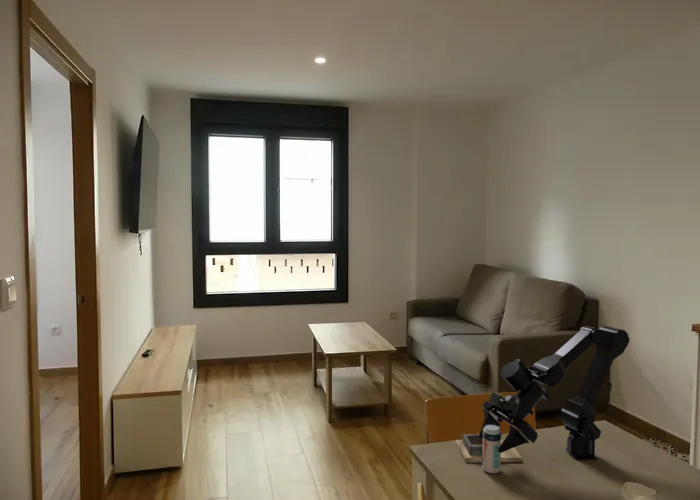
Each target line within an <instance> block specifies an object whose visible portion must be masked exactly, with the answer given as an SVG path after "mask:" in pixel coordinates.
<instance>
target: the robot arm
mask: <svg viewBox="0 0 700 500" xmlns="http://www.w3.org/2000/svg"><path fill="white" fill-rule="evenodd" d="M629 344H630V337H629V334H628V332H627V331H626V330H625V329H621V328H618V327H617V328H616V327H613V326H609V325H603V326H601V327H593V326H589V325H584V326H582V327H580V328H579V331H578V332H577V333H576V334H575V335H573V336H572V337H571V338H570V339H569V340H568V341H567V342H565V344H563V345H562V346H561V347H559V349H557V350H556V352H555V353H553V354H552V355H549V356H546V357H545V356H544V357H542V358H541V359H540V360H537V361H536V362H535V363H534V364H533V365H530V366H526V364H525V362H523V360H521V359H518V358H516V359H515V360H513V361H511V362H508V363H507V364H504V366H502V368H501V370H500V375H501V377H502V378H503V379H504V380H505V381H506V382H507V384H508V385H509V386H511V388H512V389H513V390H514V391H517V392H516V393H515V394H511V393H510V394H509V395H506V396H505V395H502V394H499V393H497V392H495V391H492V392H491V394H490V397H489V400H485V401H484V402H483V403H482V405H481V407H482V411H483V415H484V420H483V423H482V426H481V429H480V431H479V438H480V439H483V429H484V427H485V426H486V425H496V426H498V427H500V426H501V424H500V423H502V422H505V423H506V424H508V425H509V431H508V434H507V436H506V437H505V439H503V440H504V441H503V442H502V444H501V445H500V447H499V449H498V451H499V452H500V453H502V452H504V451H507V450H509V449H511V448H516V447H519V446H522V445H526V444H528V445H529V443H532V444H534V443H535V442H536V440H537V439H538V437H539V436H538V435H539V433H538V432H537V431H536V429H534V428H533V426H532V425H531V424H530V423H529V422H527V421H526V420H525V419H527V416H529V415H530V416H533V414H534V411H533V409H534V407H535V406H536V405H537V404H538V403H539V401H540V400H541V399H542V398H543V399H545V400H547V401H549V400H550V394H549V388H546V387H543V386H542V385H544V386H547V387H550V388H554V387H557V386H558V385H559V384H560V382H561V381H562V380H563V378H565V377H566V373H567V372H566V371H567V369H568V368H569V366H571V365H572V364H573V363H574V362H575V361H576V360H577V359H578V358H579V357H580V356H581V355H582V354H584V353H585V352H586V351H587V350H588V349H589V348H590V347H591V346H592V345H594V349H595V353H594V356H593V358H592V360H591V362H590V365H589V367H588V370H587V371H586V374H585V376H584V379H583V381H582V383H581V386H580V387H579V390H578V392H577V395H576V396H575V397H574V398H572V399H570V398H567V399H566V400H565V401H564V404H563V407H562V409H560V412H561V415H560V419H561V423H563V426H564V429H565V430H566V431H568V437H567V440H566V442H567V443H566V448H565V450H566V452H568V454H570V455H571V456H572V458H574V460H598V456H597V455H596V454H595V452H596V440H597V439H598V440H599V439H600V438H601V434H602V430H601V429H600V428H599V427H598V426H597V425H596V424H595V423H594V422H595V420H596V410H595V403H596V401H597V399H598V396H599V395H600V391H601V390H602V387H603V385H604V382H605V381H606V378H607V375H608V374H609V371H610V369H611V367H612V364H613V362H614V361H615V360H616V359H617V358H618V357H619V356H621V355H622V354H623V353H624V352H625V351H626V349H627V347H628V345H629ZM533 380H534V381H533Z"/></svg>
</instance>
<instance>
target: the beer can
mask: <svg viewBox="0 0 700 500" xmlns="http://www.w3.org/2000/svg"><path fill="white" fill-rule="evenodd" d="M501 440H502V430H501V428H500V426H496V425H486V426H485V427H484V429H483V460H482V462H481V463H482V465H481V466H482V467H481V468H482V470H483V471H484V472H486V473H488V474H492V475H495V474H498V473H500V472H501V470H502V467H501V466H502V465H501V464H502V462H501V453H500V452H499V451H498V449H499V447H500V445H501Z"/></svg>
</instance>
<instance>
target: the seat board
mask: <svg viewBox="0 0 700 500" xmlns="http://www.w3.org/2000/svg"><path fill="white" fill-rule="evenodd" d="M479 434H480V433H479ZM479 434H478V433H477V434H475V433H471V434H470V433H468V434H465V433H464V434H462V439H456V440H455V445H456V448H457V449H458V452H459V453H460V455H461V458H462V459H463V461H464V462H465V463H482V460H483V439H480V438H479ZM504 440H505V439H501V444H502V442H503V441H504ZM521 462H522V456H521V455H520V453H519V452H518V450H516V447H514V448H511V449H509V450H507V451H504V452H502V453H501V463H521Z"/></svg>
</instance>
